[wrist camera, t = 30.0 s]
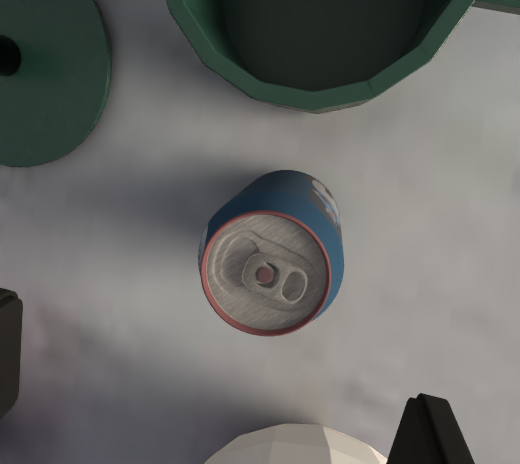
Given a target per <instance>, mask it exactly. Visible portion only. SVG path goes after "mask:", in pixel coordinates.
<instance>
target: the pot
mask: <svg viewBox="0 0 520 464" xmlns="http://www.w3.org/2000/svg"><path fill="white" fill-rule="evenodd" d="M167 4H168V9H169V11H170V14H171V15H172V17H173V18H174V20H175V21H176V23H177V24H178V26H179V27H180V29H181V31H182V32H183V34H184V35H185V37H186V38H187V40H188V41H189V43H190V44H191V46H192V47H193V49H194V51H195V52H196V54H197V55H198V57H199V58H200V60H201V61H202V63H203V64H204V65H205V66H206V67H208V68H209V69H211V70H212V71H213V72H215V73H216V74H218V75H219V76H221V77H222V78H224V79H225V80H226V81H228V82H229V83H231V84H232V85H234V86H235V87H236V88H238V89H239V90H241V91H242V92H244V93H245V94H246V95H248V96H249V97H251V98H253V99H255V100H258V101H262V102H265V103H269V104H272V105H275V106H280V107H285V108H290V109H295V110H300V111H305V112H310V113H315V114H320V113H325V112H330V111H335V110H340V109H344V108H349V107H354V106H359V105H361V104H363V103H365V102H367V101H369V100H371V99H373V98H375V97H377V96H378V95H380V94H381V93H383V92H384V91H386V90H387V89H389V88H390V87H392V86H393V85H395V84H396V83H398V82H399V81H401V80H402V79H404V78H405V77H407V76H408V75H410V74H411V73H413V72H414V71H416V70H417V69H419V68H421V67H422V66H424V65H425V64H427V63H428V62H430V61H431V60H432V59H433V58H434V56H435V55H436V54H437V52H438V51H439V49H440V48H441V47H442V45H443V44H444V43H445V41H446V40H447V39H448V37H449V36H450V34H451V33H452V32H453V30H454V29H455V28H456V26H457V25H458V24H459V22H460V21H461V19H462V18H463V17H464V15H465V14H466V13H467V11H468V10H469V9H470V7H471V6H472V7H478V8H484V9H489V10H495V11H501V12H507V13H512V14H518V15H520V0H167Z"/></svg>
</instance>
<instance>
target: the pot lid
mask: <svg viewBox="0 0 520 464" xmlns="http://www.w3.org/2000/svg"><path fill="white" fill-rule="evenodd" d="M110 80H111V49H110V43H109V37H108V32H107V29H106V25H105V22H104V19H103V16H102V13H101V11H100V9H99V7H98V4H97V2H96V0H0V165H4V166H10V167H29V166H37V165H42V164H46V163H49V162H53V161H55V160H57V159H59V158H61V157H63V156H65V155H66V154H68V153H69V152H71V151H72V150H74V149H75V148H76V147H77V146H78V145H80V144H81V143H82V142H83V141H84V140H85V138H86V137H87V136H88V135H89V134H90V132H91V131H92V130H93V128H94V126H95V125H96V123H97V121H98V120H99V118H100V115H101V113H102V111H103V109H104V106H105V103H106V99H107V96H108V93H109V86H110Z"/></svg>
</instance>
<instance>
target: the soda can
mask: <svg viewBox="0 0 520 464" xmlns="http://www.w3.org/2000/svg"><path fill="white" fill-rule="evenodd" d="M198 264H199V271H200V276H201V282H202V286H203V290H204V293H205V295H206V297H207V299H208V301H209V303H210V305H211V306H212V308H213V309H214V310H215V312H216V313H217V314H218V315H219V316H220V317H221V318H222V319H223V320H224V321H225V322H227V323H228V324H229V325H231V326H233V327H235V328H236V329H238V330H241V331H243V332H246V333H249V334H253V335H258V336H279V335H284V334H288V333H291V332H294V331H296V330H298V329H300V328H302V327H304V326H305V325H306V324H308V323H309V322H311V321H313V320H314V319H316V318H317V317H318V316H319V315H321V314H322V313H323V312H324V311H325V310H326V309H327V308H328V307H329V305H330V304H331V303H332V301H333V300H334V298H335V297H336V295H337V293H338V290H339V288H340V285H341V282H342V278H343V272H344V256H343V246H342V236H341V226H340V217H339V211H338V207H337V204H336V202H335V200H334V198H333V196H332V195H331V193H330V192H329V190H328V189H327V188H326V187H325V186H324V185H323V184H322V183H321V182H319V181H318V180H317V179H315V178H314V177H312V176H310V175H308V174H305V173H302V172H298V171H292V170H280V171H275V172H271V173H268V174H265V175H263V176H261V177H260V178H258V179H256V180H255V181H254V182H253V183H251V184H250V185H249V186H248V187H246V188H245V189H244V190H243V191H241V192H240V193H239V194H238V195H237V196H235V197H234V198H233V199H232V200H230V201H229V202H228V203H227V204H226V205H224V206H223V207H222V208H221V209H220V210H219V211H218V212H217V213H216V214H215V215H214V216H213V217H212V218H211V220H210V221H209V223H208V224H207V226H206V228H205V230H204V232H203V235H202V238H201V241H200V245H199V252H198Z"/></svg>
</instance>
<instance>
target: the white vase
mask: <svg viewBox="0 0 520 464" xmlns="http://www.w3.org/2000/svg"><path fill="white" fill-rule="evenodd" d="M387 460H388V459H386V458H385V457H384V456H382V455H381V454H380V453H378V452H377V451H376V450H374V449H373V448H372V447H370V446H369V445H367V444H365V443H363V442H362V441H360V440H358V439H356V438H353V437H351V436H348V435H346V434H343V433H341V432H338V431H336V430H334V429H331V428H329V427H326V426H324V425H311V424H281V425H276V426H272V427H268V428H265V429H261V430H258V431H254V432H251V433H247V434H243V435H240V436H238V437H237V438H235V439H234V440H233V441H231V442H230V443H229V444H227V445H226V446H224V447H223V448H222V449H220V450H219V451H218V452H216V453H215V454H214V455H212V456H211V457H210V458H209V459H208V460H207V461H206V462H205V463H204V464H386V463H387Z"/></svg>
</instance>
